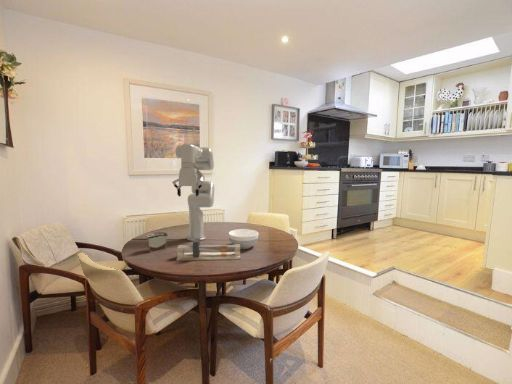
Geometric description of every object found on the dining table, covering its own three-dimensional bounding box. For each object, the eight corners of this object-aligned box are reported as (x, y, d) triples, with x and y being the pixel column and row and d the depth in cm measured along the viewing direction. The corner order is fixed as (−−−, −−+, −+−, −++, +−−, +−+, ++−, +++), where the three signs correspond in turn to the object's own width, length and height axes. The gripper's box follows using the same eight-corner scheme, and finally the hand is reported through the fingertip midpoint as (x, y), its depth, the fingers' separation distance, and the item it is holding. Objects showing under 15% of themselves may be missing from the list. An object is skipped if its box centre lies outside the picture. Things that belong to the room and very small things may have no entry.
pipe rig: (180, 254, 142) (179, 243, 141) (239, 253, 145) (239, 242, 144) (176, 260, 133) (176, 249, 132) (240, 259, 136) (240, 247, 136)
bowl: (223, 248, 153) (223, 234, 153) (236, 240, 171) (236, 227, 170) (251, 252, 147) (251, 238, 146) (262, 243, 164) (262, 230, 163)
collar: (194, 252, 142) (194, 238, 141) (200, 252, 142) (200, 238, 141) (193, 257, 134) (192, 242, 134) (198, 256, 135) (198, 242, 134)
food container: (163, 246, 156) (163, 230, 155) (168, 248, 152) (167, 232, 151) (143, 250, 147) (142, 234, 146) (147, 253, 143) (147, 236, 142)
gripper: (204, 166, 146) (204, 195, 147) (173, 166, 144) (174, 195, 145) (202, 166, 138) (202, 196, 139) (170, 165, 136) (171, 196, 137)
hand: (188, 196), depth 142 cm, fingers open, 9 cm apart
